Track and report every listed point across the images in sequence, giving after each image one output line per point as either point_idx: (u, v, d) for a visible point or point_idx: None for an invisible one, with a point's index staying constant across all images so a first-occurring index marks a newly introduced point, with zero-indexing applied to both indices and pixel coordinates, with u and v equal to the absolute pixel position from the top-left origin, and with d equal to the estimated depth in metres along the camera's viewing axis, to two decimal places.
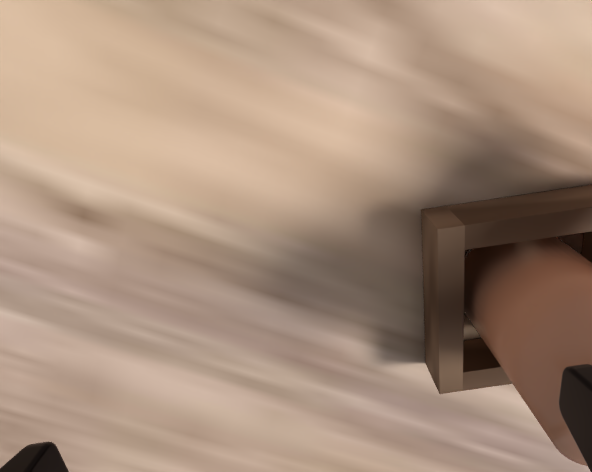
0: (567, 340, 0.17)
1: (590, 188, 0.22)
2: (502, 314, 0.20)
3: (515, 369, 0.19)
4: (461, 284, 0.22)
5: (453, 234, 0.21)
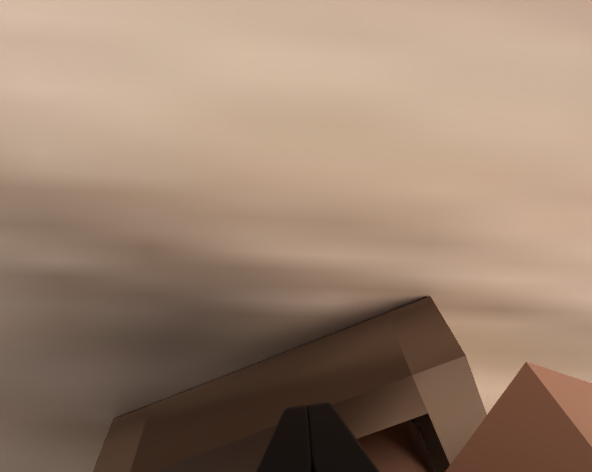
0: None
1: (379, 327, 0.12)
2: None
3: None
4: None
5: None
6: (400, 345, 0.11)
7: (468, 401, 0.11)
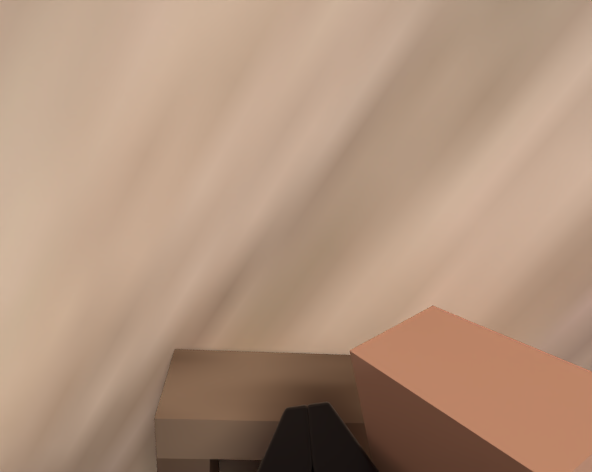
0: None
1: None
2: None
3: None
4: None
5: None
6: None
7: (213, 429, 0.10)
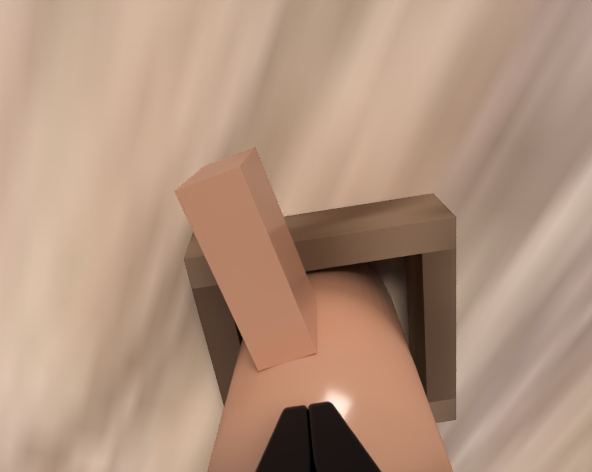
0: None
1: None
2: None
3: None
4: None
5: None
6: None
7: None
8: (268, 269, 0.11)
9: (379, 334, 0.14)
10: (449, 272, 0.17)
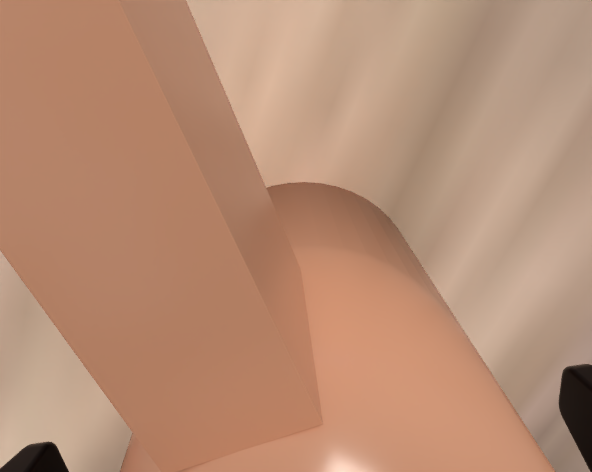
0: None
1: None
2: None
3: None
4: None
5: None
6: None
7: None
8: (161, 196, 0.03)
9: (443, 341, 0.06)
10: None
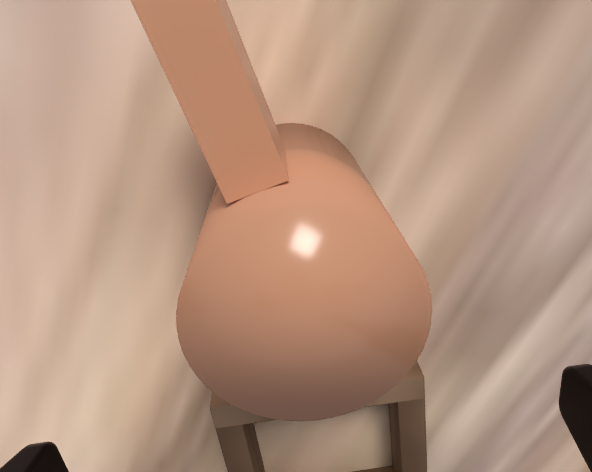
0: None
1: None
2: None
3: None
4: None
5: None
6: None
7: None
8: (232, 82, 0.10)
9: (352, 176, 0.13)
10: (419, 414, 0.21)
